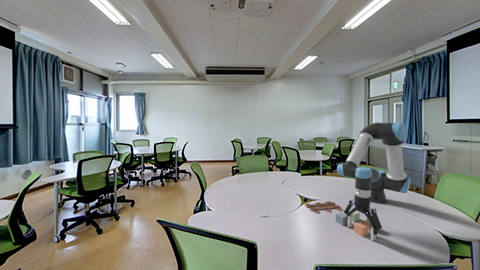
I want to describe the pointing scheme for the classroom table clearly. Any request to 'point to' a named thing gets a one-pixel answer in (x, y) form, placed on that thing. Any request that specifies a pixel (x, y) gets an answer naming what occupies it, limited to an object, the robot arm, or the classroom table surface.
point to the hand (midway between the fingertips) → (360, 232)
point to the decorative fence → (323, 207)
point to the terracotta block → (361, 228)
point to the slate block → (341, 218)
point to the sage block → (355, 216)
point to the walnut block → (369, 224)
